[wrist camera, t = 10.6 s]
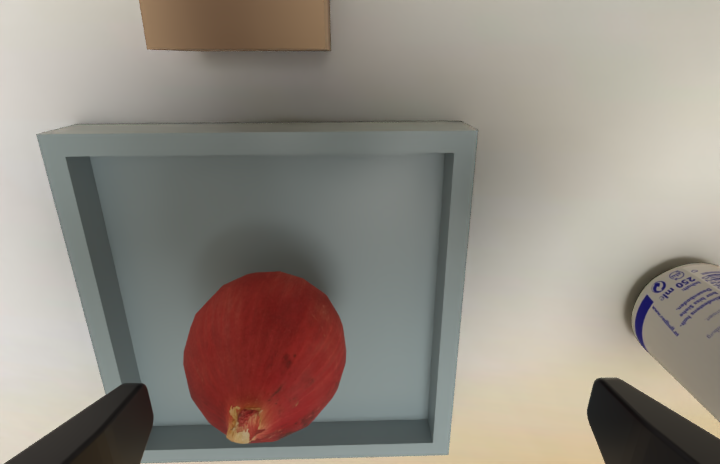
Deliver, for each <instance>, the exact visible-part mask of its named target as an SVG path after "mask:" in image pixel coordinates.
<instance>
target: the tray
mask: <svg viewBox="0 0 720 464" xmlns="http://www.w3.org/2000/svg"><path fill="white" fill-rule="evenodd" d="M36 135H37V139H38V142H39V146H40V150H41V154H42V157H43V161H44V165H45V169H46V172H47V176H48V180H49V184H50V187H51V191H52V195H53V198H54V202H55V206H56V210H57V213H58V217H59V221H60V225H61V228H62V232H63V236H64V240H65V243H66V247H67V251H68V255H69V258H70V262H71V266H72V270H73V273H74V277H75V281H76V285H77V288H78V292H79V296H80V300H81V303H82V307H83V311H84V315H85V318H86V322H87V326H88V330H89V333H90V337H91V341H92V345H93V348H94V352H95V356H96V360H97V363H98V367H99V371H100V375H101V378H102V382H103V386H104V390H105V393H106V394H108V393H109V392H111V391H112V390H114V389H115V388H117V387H118V386H120V385H121V384H124V383H143V384H145V385H146V387H147V389H148V393H149V397H150V401H151V406H152V410H153V415H154V420H153V426H152V430H151V433H150V436H149V439H148V442H147V445H146V448H145V451H144V454H143V457H142V460H141V463H167V462H204V461H241V460H278V459H315V458H352V457H389V456H427V455H448V453H449V442H450V432H451V421H452V410H453V399H454V388H455V377H456V366H457V355H458V344H459V333H460V322H461V312H462V301H463V290H464V279H465V268H466V257H467V246H468V235H469V224H470V213H471V203H472V192H473V181H474V170H475V159H476V148H477V137H478V130H476V129H475V128H473V127H471V126H469V125H467V124H466V123H464V122H462V121H417V122H291V123H166V124H75V125H71V126H67V127H63V128H59V129H55V130H51V131H47V132H43V133H39V134H36ZM275 271H281V272H284V273H287V274H291V275H294V276H297V277H301V278H303V279H305V280H306V281H308V282H309V283H310V284H312V285H313V286H315V287H316V288H317V289H319V290H320V291H322V292H323V293H325V294H326V295H327V296H328V298H329V300H330V301H331V303H332V305H333V306H334V308H335V310H336V311H337V313H338V315H339V317H340V319H341V322H342V325H343V330H344V337H345V344H346V363H345V367H344V370H343V373H342V377H341V380H340V383H339V386H338V389H337V391H336V393H335V395H334V396H333V398H332V399H331V400H330V402H329V403H328V404H327V405H326V406H325V407H324V409H323V410H322V411H321V412H320V413H319V414H318V416H317V417H316V418H315V419H314V420H313V421H312V422H311V423H310V424H309V425H308V426H307V427H305V428H303V429H301V430H299V431H297V432H295V433H292V434H290V435H288V436H286V437H284V438H281V439H279V440H277V441H274V442H263V443H246V444H240V443H235V442H231V441H230V440H229V439H228V438H226V435H225V434H224V433H222V432H221V431H219V430H218V429H216V428H215V427H214V426H212V425H211V424H210V423H209V422H208V421H207V420H206V418H205V417H204V415H203V414H202V413H201V411H200V410H199V409H198V407H197V406H196V404H195V403H194V401H193V400H192V398H191V395H190V392H189V388H188V384H187V379H186V375H185V370H184V366H183V356H184V349H185V345H186V342H187V338H188V334H189V331H190V327H191V325H192V322H193V320H194V317H195V314H196V313H197V312H198V311H199V310H200V309H201V308H202V307H203V306H204V305H205V304H206V302H207V301H208V300H209V299H210V298H211V297H212V296H213V295H214V294H215V293H216V292H217V291H218V290H219V289H220V288H221V287H222V286H223V285H225V284H227V283H229V282H231V281H233V280H236V279H238V278H240V277H242V276H244V275H246V274H250V273H255V272H275Z"/></svg>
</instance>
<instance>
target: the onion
mask: <svg viewBox="0 0 720 464" xmlns="http://www.w3.org/2000/svg"><path fill="white" fill-rule="evenodd" d="M345 363H346V344H345V337H344V330H343V325H342V322H341V319H340V317H339V315H338V313H337V311H336V310H335V308H334V306H333V305H332V303H331V301H330V300H329V298H328V296H327V295H326V294H325V293H323V292H322V291H320V290H319V289H317V288H316V287H315V286H313V285H312V284H310V283H309V282H308V281H306V280H305V279H303V278H301V277H297V276H294V275H291V274H287V273H284V272H281V271H275V272H255V273H250V274H246V275H244V276H242V277H240V278H238V279H236V280H233V281H231V282H229V283H227V284H225V285H223V286H222V287H221V288H220V289H219V290H218V291H217V292H216V293H215V294H214V295H213V296H212V297H211V298H210V299H209V300H208V301H207V302H206V304H205V305H204V306H203V307H202V308H201V309H200V310H199V311H198V312H197V313H196V314H195V317H194V320H193V322H192V325H191V327H190V331H189V334H188V338H187V342H186V345H185V349H184V356H183V366H184V370H185V375H186V379H187V384H188V388H189V392H190V395H191V398H192V400H193V401H194V403H195V404H196V406H197V407H198V409H199V410H200V411H201V413H202V414H203V415H204V417H205V418H206V420H207V421H208V422H209V423H210V424H211V425H212V426H214V427H215V428H216V429H218V430H219V431H221V432H222V433H224V434H225V435H226V438H228V439H229V440H230V441H231V442H235V443H240V444H246V443H263V442H274V441H277V440H279V439H281V438H284V437H286V436H288V435H290V434H292V433H295V432H297V431H299V430H301V429H303V428H305V427H307V426H308V425H309V424H310V423H311V422H312V421H313V420H314V419H315V418H316V417H317V416H318V414H319V413H320V412H321V411H322V410H323V409H324V407H325V406H326V405H327V404H328V403H329V402H330V400H331V399H332V398H333V396H334V395H335V393H336V391H337V389H338V386H339V383H340V380H341V377H342V373H343V370H344V367H345Z"/></svg>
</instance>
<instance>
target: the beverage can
mask: <svg viewBox="0 0 720 464" xmlns="http://www.w3.org/2000/svg"><path fill="white" fill-rule="evenodd" d="M632 329H633V332H634V335H635V336H636V338H637V340H638V341H639V343H640V344H641V345H642V346H643V347H644V349H645V350H646V351H647V352H648V353H649V354H650V355H651V356H652V357H653V358H655V359H656V360H657V361H658V362H659V363H660V364H661V365H662V366H663V367H664V368H665V369H666V370H667V371H668V372H669V373H670V374H671V375H672V376H673V377H674V378H675V379H676V380H677V381H678V382H679V383H680V384H681V385H682V386H683V387H684V388H685V389H686V390H687V391H688V392H689V393H690V394H691V395H692V396H693V397H694V398H695V399H696V400H697V401H698V402H699V403H701V404H702V405H703V406H704V407H705V408H706V409H707V410H708V411H709V412H710V413H711V414H712V415H713V416H714V417H715V418H716V419H717V420H718V421H719V422H720V267H719V266H716V265H712V264H707V263H691V264H686V265H682V266H678V267H675V268H673V269H671V270H669V271H667V272H664V273H662V274H660V275H659V276H657V277H655V278H654V279H653V280H651V281H650V282H649V283H648V284H647V285H646V286H645V288H644V289H643V290H642V292H641V293H640V295H639V297H638V299H637V301H636V303H635V306H634V309H633V312H632Z"/></svg>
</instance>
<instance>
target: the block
mask: <svg viewBox="0 0 720 464" xmlns="http://www.w3.org/2000/svg"><path fill="white" fill-rule="evenodd" d="M139 3H140V9H141V15H142V21H143V27H144V33H145V39H146V45H147V49H150V50H177V51H331V34H330V0H139Z"/></svg>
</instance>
